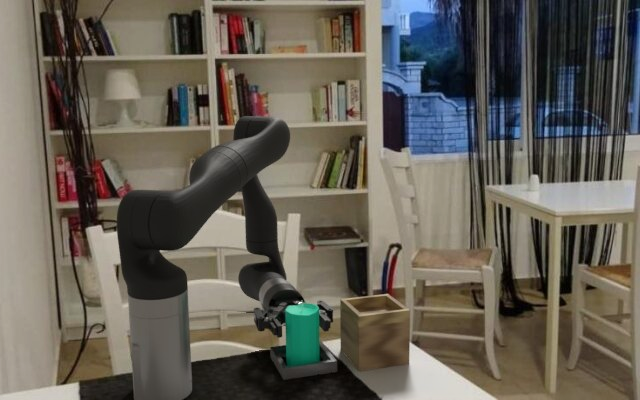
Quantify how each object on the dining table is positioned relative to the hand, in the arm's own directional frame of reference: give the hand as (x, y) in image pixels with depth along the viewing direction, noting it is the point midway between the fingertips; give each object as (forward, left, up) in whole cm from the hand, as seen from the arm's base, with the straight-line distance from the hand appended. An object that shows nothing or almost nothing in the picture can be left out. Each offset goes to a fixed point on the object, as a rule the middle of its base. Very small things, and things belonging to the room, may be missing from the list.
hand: (304, 329), depth 110 cm
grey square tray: (0, +1, -7) cm, 7 cm away
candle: (0, +1, -7) cm, 7 cm away
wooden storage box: (+13, 0, -7) cm, 15 cm away
